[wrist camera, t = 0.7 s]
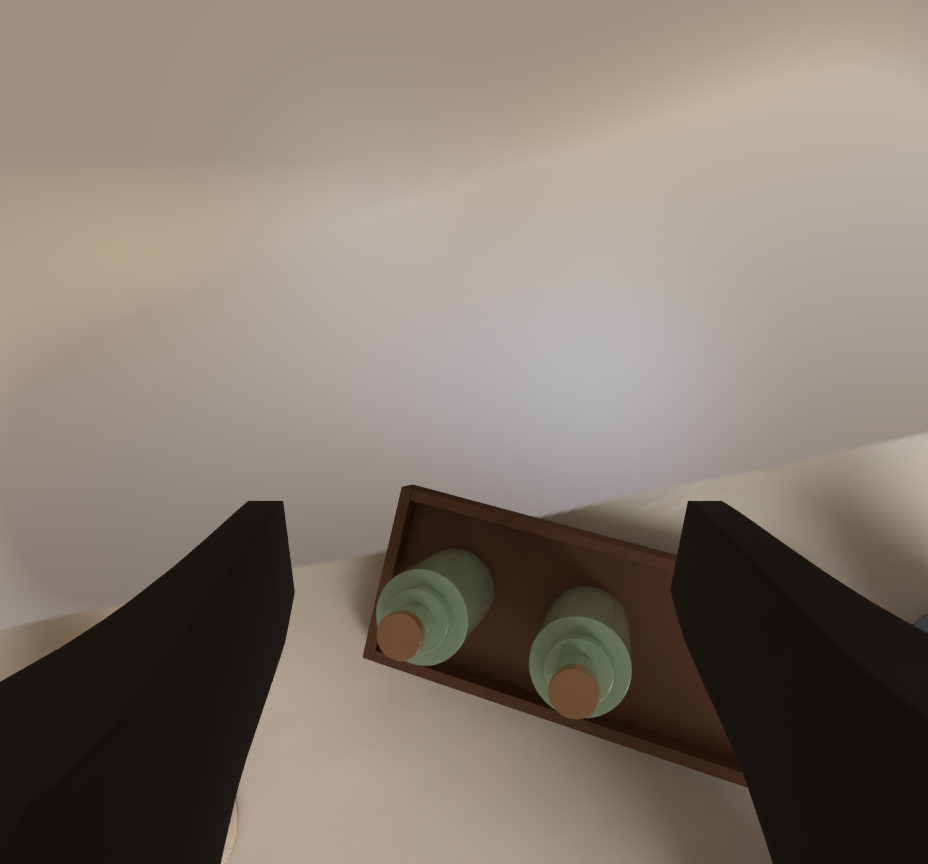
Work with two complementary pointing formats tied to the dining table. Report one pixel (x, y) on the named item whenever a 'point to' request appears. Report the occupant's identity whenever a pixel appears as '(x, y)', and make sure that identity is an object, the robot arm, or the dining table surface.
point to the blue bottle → (923, 624)
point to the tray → (525, 606)
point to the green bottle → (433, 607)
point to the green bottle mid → (582, 653)
